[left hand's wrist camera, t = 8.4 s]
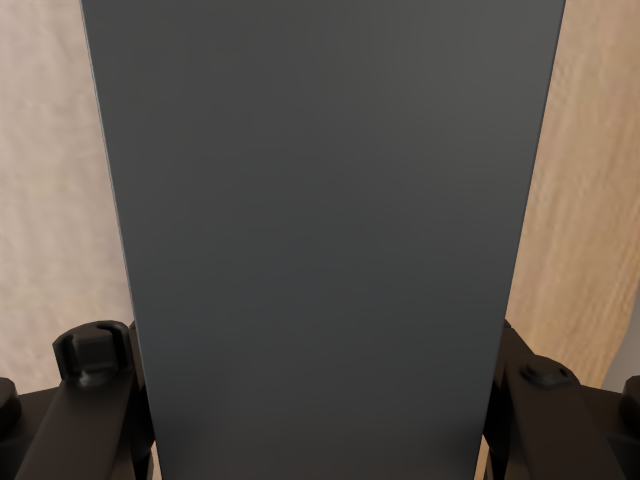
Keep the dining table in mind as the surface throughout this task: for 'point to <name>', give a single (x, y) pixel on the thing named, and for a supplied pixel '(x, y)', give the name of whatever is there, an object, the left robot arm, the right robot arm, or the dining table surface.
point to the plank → (320, 222)
